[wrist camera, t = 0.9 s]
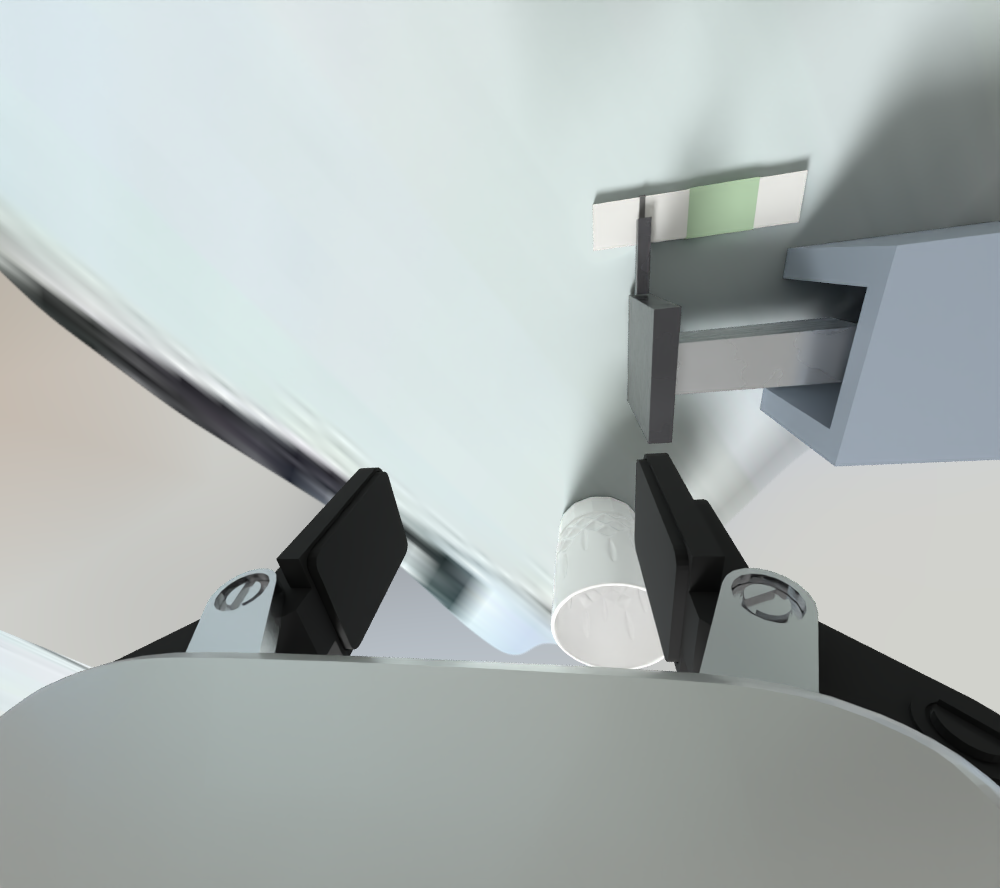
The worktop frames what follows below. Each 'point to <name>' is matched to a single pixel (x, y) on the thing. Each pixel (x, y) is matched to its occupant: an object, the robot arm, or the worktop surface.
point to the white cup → (602, 589)
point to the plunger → (717, 352)
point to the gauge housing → (867, 323)
